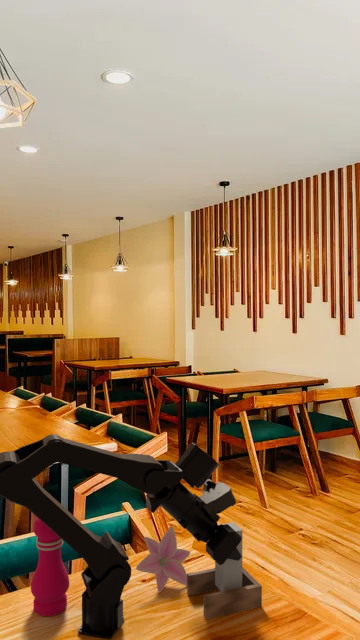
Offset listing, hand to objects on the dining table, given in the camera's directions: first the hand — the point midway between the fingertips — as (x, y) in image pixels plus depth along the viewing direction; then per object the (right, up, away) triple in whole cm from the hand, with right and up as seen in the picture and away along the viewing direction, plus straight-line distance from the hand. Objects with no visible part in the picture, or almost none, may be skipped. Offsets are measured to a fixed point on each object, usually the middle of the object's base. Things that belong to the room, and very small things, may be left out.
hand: (235, 553), depth 104 cm
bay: (-2, -9, -1) cm, 9 cm away
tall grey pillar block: (-1, -7, 0) cm, 7 cm away
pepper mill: (-36, -9, -3) cm, 37 cm away
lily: (-14, -9, +6) cm, 18 cm away
